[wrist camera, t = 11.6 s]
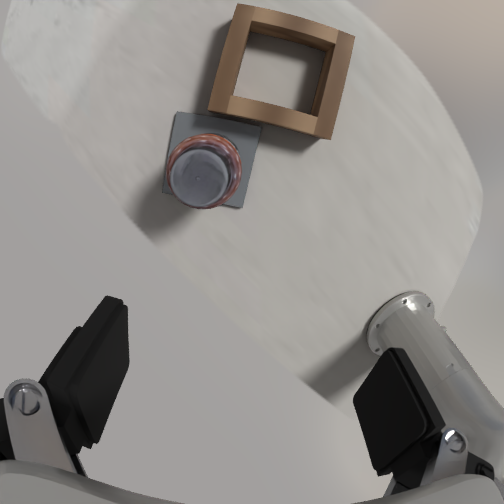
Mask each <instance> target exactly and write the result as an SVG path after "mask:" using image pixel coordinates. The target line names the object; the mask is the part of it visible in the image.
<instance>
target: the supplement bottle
mask: <svg viewBox="0 0 504 504" xmlns="http://www.w3.org/2000/svg"><path fill="white" fill-rule="evenodd" d="M241 175H242V166H241V158H240V153H239V150H238V148H237V146H236V145H235V144H234V142H233V141H232V140H231V139H229V138H228V137H226V136H224V135H222V134H219V133H205V134H199V135H195V136H192V137H189V138H187V139H185V140H183V141H182V142H180V143H179V144H178V145H177V146H176V147H175V148H174V150H173V151H172V153H171V154H170V156H169V158H168V161H167V166H166V179H167V183H168V186H169V188H170V190H171V192H172V193H173V194H174V196H175V197H176V198H177V199H178V200H179V201H180V202H182V203H183V204H185V205H187V206H189V207H192V208H197V209H211V208H215V207H217V206H220V205H221V204H223V203H225V202H226V201H228V200H229V199H230V198H231V197H232V195H233V194H234V193H235V191H236V190H237V188H238V186H239V184H240V180H241Z"/></svg>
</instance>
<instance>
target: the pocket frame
mask: <svg viewBox="0 0 504 504" xmlns="http://www.w3.org/2000/svg"><path fill="white" fill-rule="evenodd" d="M250 32H255V33H260V34H264V35H269V36H273V37H277V38H281V39H285V40H289V41H292V42H296V43H299V44H303V45H306V46H309V47H312V48H316V49H319V50H322V51H325V52H326V53H325V57H324V61H323V65H322V69H321V73H320V77H319V81H318V85H317V89H316V94H315V97H314V101H313V105H312V109H311V113H310V115H309V114H306V113H302V112H299V111H295V110H292V109H288V108H284V107H280V106H277V105H273V104H268V103H264V102H260V101H256V100H251V99H246V98H242V97H237V96H233V93H234V89H235V85H236V81H237V77H238V73H239V70H240V66H241V62H242V58H243V55H244V51H245V48H246V44H247V41H248V37H249V34H250ZM354 40H355V36H353V35H350V34H348V33H345V32H343V31H340V30H337V29H335V28H332V27H329V26H326V25H323V24H320V23H317V22H314V21H311V20H308V19H304V18H301V17H298V16H294V15H290V14H286V13H282V12H278V11H274V10H270V9H265V8H260V7H255V6H250V5H244V4H238V3H237V6H236V9H235V12H234V16H233V19H232V22H231V25H230V28H229V31H228V35H227V38H226V41H225V45H224V48H223V52H222V55H221V59H220V62H219V66H218V70H217V73H216V77H215V81H214V85H213V89H212V93H211V97H210V101H209V105H208V109H207V110H208V111H210V112H212V113H218V114H224V115H229V116H234V117H239V118H244V119H248V120H253V121H257V122H262V123H266V124H270V125H274V126H278V127H282V128H286V129H289V130H293V131H297V132H300V133H304V134H307V135H311V136H314V137H317V138H321V139H328V140H331V136H332V133H333V129H334V125H335V121H336V117H337V113H338V109H339V105H340V101H341V97H342V93H343V89H344V85H345V80H346V76H347V72H348V67H349V63H350V58H351V54H352V49H353V44H354Z"/></svg>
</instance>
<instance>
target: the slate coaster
mask: <svg viewBox="0 0 504 504" xmlns="http://www.w3.org/2000/svg"><path fill="white" fill-rule="evenodd" d="M261 129H262V127H259V126H255V125H251V124H246V123H241V122H236V121H232V120H226V119H221V118H216V117H210V116H204V115H198V114H191V113H184V112H177V113H176V118H175V122H174V127H173V132H172V137H171V142H170V148H169V153H168V158H169V156H170V154H171V153H172V151H173V150H174V148H175V147H176V146H177V145H178V144H179V143H180V142H182V141H183V140H185V139H187V138H189V137H192V136H195V135H199V134H205V133H219V134H222V135H224V136H226V137H228V138H229V139H231V140H232V141H233V142H234V144H235V145H236V146H237V148H238V150H239V153H240V158H241V166H242V175H241V180H240V184H239V186H238V188H237V190H236V191H235V193H234V194H233V195H232V197H231V198H230V199H229V200H228V201H226V202H225V203H223V204H226V205H231V206H236V207H240V208H243V204H244V199H245V195H246V191H247V187H248V182H249V178H250V174H251V170H252V165H253V161H254V157H255V153H256V149H257V145H258V141H259V137H260V133H261ZM167 161H168V159H167ZM166 166H167V165H166ZM162 193H167V194H173V193H172V192H171V190H170V188H169V186H168V183H167V179H166V171H165V177H164V184H163V190H162ZM173 195H174V194H173Z"/></svg>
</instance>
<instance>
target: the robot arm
mask: <svg viewBox="0 0 504 504" xmlns="http://www.w3.org/2000/svg"><path fill="white" fill-rule="evenodd" d="M434 313H435V309H434V304H433V302H432V301H431V299H430V298H429V297H428V296H427V295H426V294H424V293H422V292H408V293H404V294H402V295H399V296H397V297H395V298H394V299H392V300H390V301H389V302H388V303H387V304H385V305H384V306H383V307H382V308H381V309H380V310H379V311H378V312H377V314H376V315H375V316H374V318H373V319H372V321H371V323H370V325H369V328H368V331H367V343H368V345H369V347H370V349H371V351H372V352H373V353H375V354H377V355H379V356H381V357H380V358H379V360H378V361H377V363H376V364H375V366H374V367H373V369H372V370H371V372H370V373H369V375H368V376H367V378H366V379H365V381H364V382H363V384H362V385H361V386H360V388H359V389H358V391H357V392H356V393H355V395H354V397H353V404H354V407H355V410H356V413H357V416H358V419H359V423H360V426H361V429H362V432H363V435H364V438H365V442H366V445H367V448H368V452H369V456H370V459H371V462H372V466H373V468H374V469H375V470H376V471H377V475H378V476H382V475H387V474H390V473H391V472H392V473H393V477H392V479H391V482H390V484H389V486H388V488H387V490H386V492H385V494H384V496H383V497H382V498H378V499H374V500H369V501H364V502H360V503H354V504H504V408H503V407H502V406H501V405H500V404H499V402H498V401H497V400H496V399H495V398H494V396H493V395H492V394H491V393H490V391H489V390H488V388H487V387H486V386H485V384H484V383H483V382H482V380H481V379H480V378H479V376H478V375H477V373H476V372H475V371H474V369H473V368H472V367H471V365H470V364H469V362H468V361H467V360H466V358H465V357H464V356H463V354H462V353H461V352H460V351H459V349H458V348H457V346H456V345H455V344H454V342H453V341H452V340H451V339H450V337H449V336H448V335H447V334H446V327H445V326H440V325H439V324H438V322H437V321H436V320H435V319H434ZM128 367H129V342H128V307H127V306H126V305H123V301H122V300H121V299H118V298H114V297H111V296H105V297H104V299H103V300H102V301H101V303H100V304H99V305H98V306H97V308H96V309H95V310H94V312H93V313H92V315H91V316H90V317H89V319H88V320H87V321H86V323H85V324H84V326H83V327H80V326H79V327H76V328H75V329H74V330H73V332H72V333H71V335H70V336H69V337H68V339H67V340H66V342H65V343H64V344H63V346H62V347H61V349H60V350H59V352H58V353H57V354H56V356H55V357H54V359H53V360H52V362H51V363H50V365H49V366H48V368H47V369H46V371H45V372H44V374H43V376H42V377H41V379H40V380H39V382H36V381H34V380H31V379H19V380H16V381H14V382H12V383H11V384H10V385H9V386H8V387H7V389H6V391H5V393H4V398H1V399H0V504H183V503H178V502H172V501H168V500H163V499H159V498H154V497H150V496H146V495H142V494H138V493H134V492H131V491H127V490H124V489H120V488H117V487H114V486H111V485H108V484H105V483H102V482H99V481H96V480H93V479H90V478H88V476H87V474H86V472H85V470H84V468H83V466H82V463H81V461H80V459H79V457H78V453H80V451H81V448H82V446H84V447H87V448H89V449H91V448H92V445H93V443H96V444H97V443H98V442H99V440H100V438H101V435H102V433H103V430H104V427H105V424H106V422H107V419H108V417H109V414H110V412H111V409H112V407H113V404H114V402H115V399H116V397H117V394H118V391H119V389H120V387H121V384H122V382H123V380H124V377H125V375H126V373H127V370H128Z"/></svg>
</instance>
